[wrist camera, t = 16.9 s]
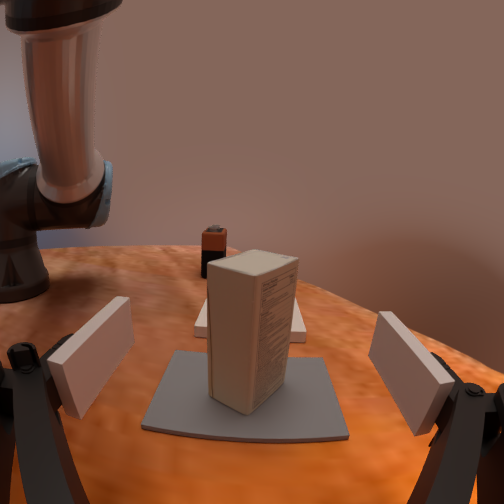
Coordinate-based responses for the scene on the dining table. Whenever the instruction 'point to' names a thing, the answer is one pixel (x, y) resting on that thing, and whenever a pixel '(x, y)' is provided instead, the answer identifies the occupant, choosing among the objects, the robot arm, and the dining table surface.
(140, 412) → the dining table surface
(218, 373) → the skincare box
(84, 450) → the dining table surface
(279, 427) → the grey mat
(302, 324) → the white square frame
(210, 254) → the battery
